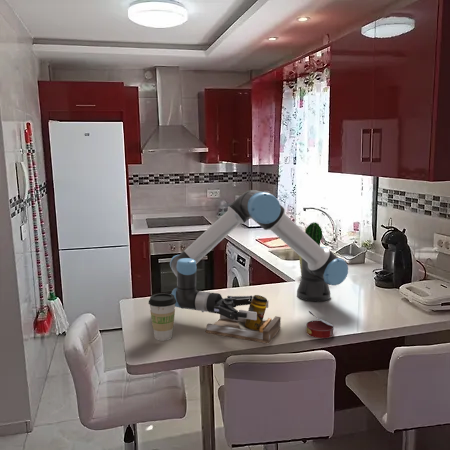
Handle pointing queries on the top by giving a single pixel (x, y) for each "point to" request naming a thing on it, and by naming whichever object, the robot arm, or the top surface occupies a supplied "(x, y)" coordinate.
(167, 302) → the coffee cup
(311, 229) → the potted cactus
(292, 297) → the top surface
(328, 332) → the canned food
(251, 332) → the rail board
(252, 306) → the condiment
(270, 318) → the latch
